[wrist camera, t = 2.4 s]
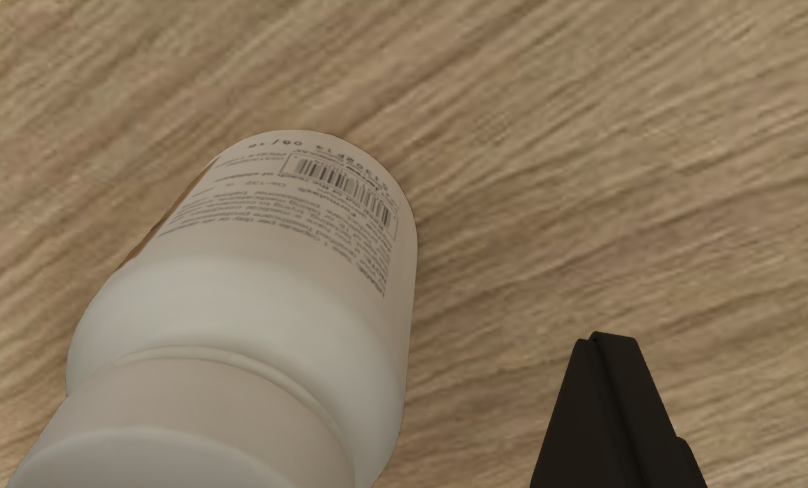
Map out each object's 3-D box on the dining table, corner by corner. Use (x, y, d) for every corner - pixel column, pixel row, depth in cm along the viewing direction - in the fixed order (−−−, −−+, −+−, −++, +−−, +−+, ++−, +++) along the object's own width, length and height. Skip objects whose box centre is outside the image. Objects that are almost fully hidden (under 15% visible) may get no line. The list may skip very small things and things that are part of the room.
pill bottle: (159, 142, 14) (-144, 414, 7) (397, 107, 13) (340, 362, 6) (223, 343, 15) (38, 723, 8) (434, 320, 15) (420, 703, 8)
